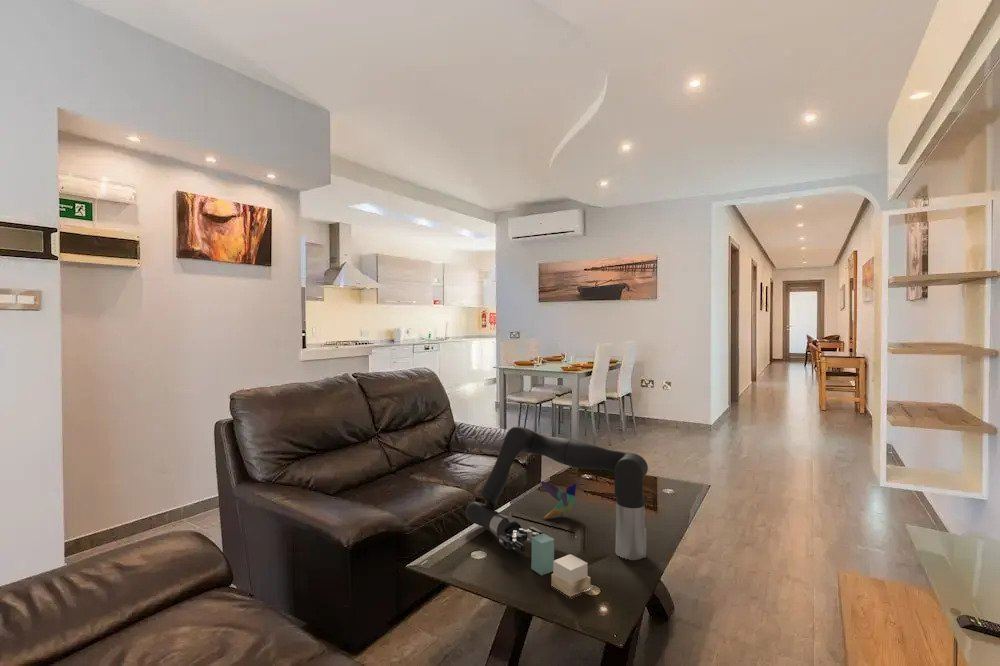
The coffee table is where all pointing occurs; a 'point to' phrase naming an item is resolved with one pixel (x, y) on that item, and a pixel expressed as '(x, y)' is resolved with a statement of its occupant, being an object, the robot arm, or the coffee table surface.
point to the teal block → (542, 554)
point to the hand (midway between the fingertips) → (534, 545)
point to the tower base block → (570, 585)
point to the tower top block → (570, 568)
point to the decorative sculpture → (561, 498)
